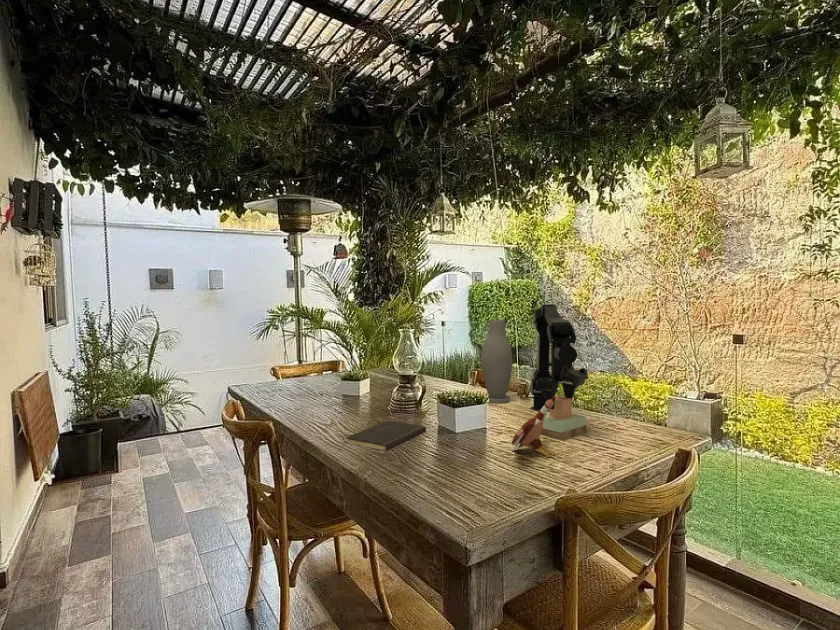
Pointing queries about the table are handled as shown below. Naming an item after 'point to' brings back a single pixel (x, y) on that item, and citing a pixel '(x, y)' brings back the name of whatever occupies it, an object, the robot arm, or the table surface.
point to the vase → (496, 362)
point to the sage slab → (564, 423)
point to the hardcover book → (386, 435)
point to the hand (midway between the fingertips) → (560, 407)
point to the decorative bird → (533, 431)
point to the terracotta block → (562, 408)
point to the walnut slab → (564, 433)
